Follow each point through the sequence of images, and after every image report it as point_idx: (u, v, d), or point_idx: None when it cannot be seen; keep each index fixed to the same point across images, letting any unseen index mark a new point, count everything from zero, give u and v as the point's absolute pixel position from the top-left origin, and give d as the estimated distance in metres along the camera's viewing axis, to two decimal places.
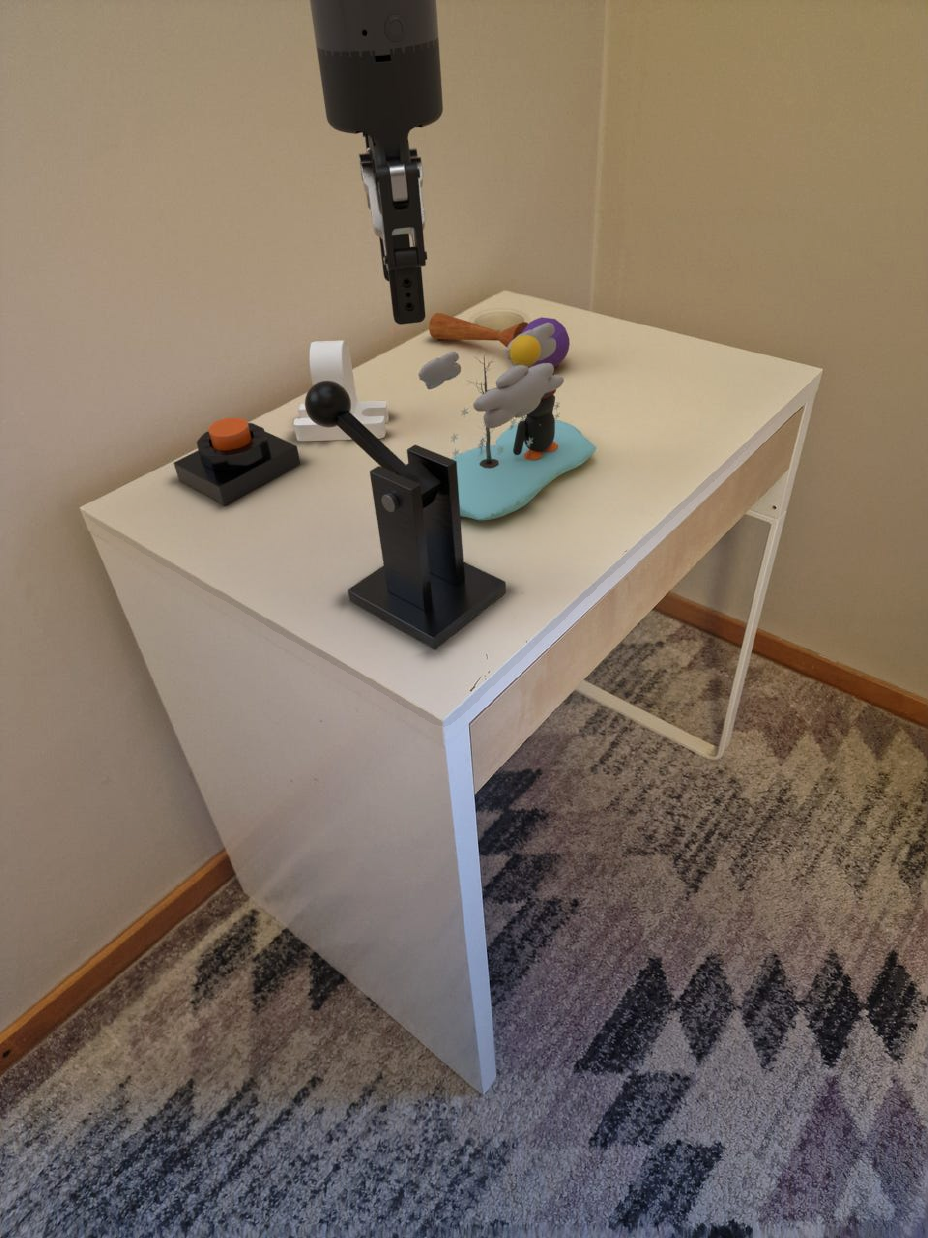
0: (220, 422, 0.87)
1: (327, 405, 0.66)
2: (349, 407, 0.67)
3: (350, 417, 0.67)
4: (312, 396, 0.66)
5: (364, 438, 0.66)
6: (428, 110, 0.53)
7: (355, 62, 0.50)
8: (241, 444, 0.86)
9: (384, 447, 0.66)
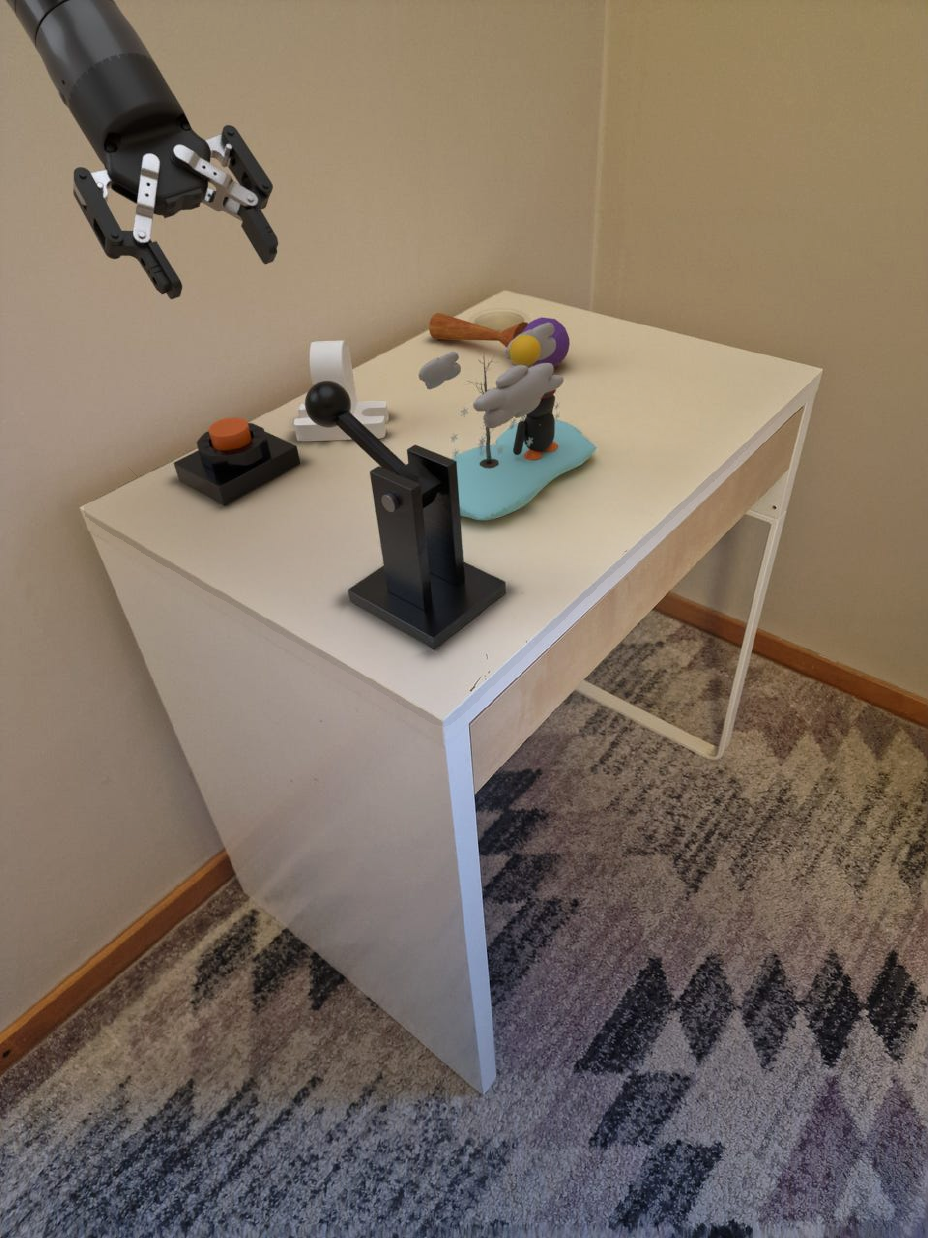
0: (220, 422, 0.87)
1: (327, 405, 0.66)
2: (349, 407, 0.67)
3: (350, 417, 0.67)
4: (312, 396, 0.66)
5: (364, 438, 0.66)
6: None
7: None
8: (241, 444, 0.86)
9: (384, 447, 0.66)
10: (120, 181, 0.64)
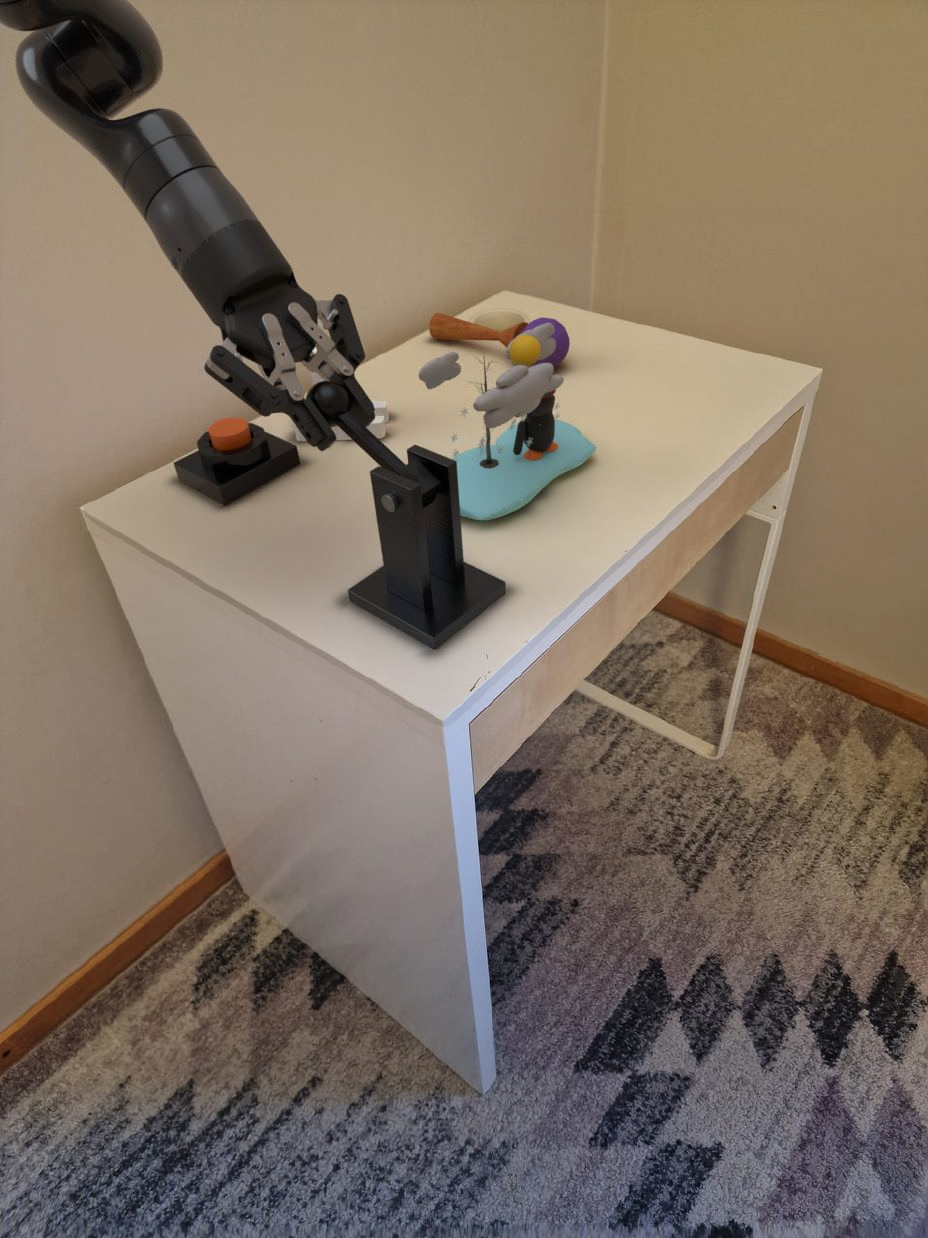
0: (220, 422, 0.87)
1: (327, 405, 0.66)
2: (349, 407, 0.67)
3: (350, 417, 0.67)
4: (312, 396, 0.66)
5: (364, 438, 0.66)
6: None
7: None
8: (241, 444, 0.86)
9: (384, 447, 0.66)
10: (240, 341, 0.64)
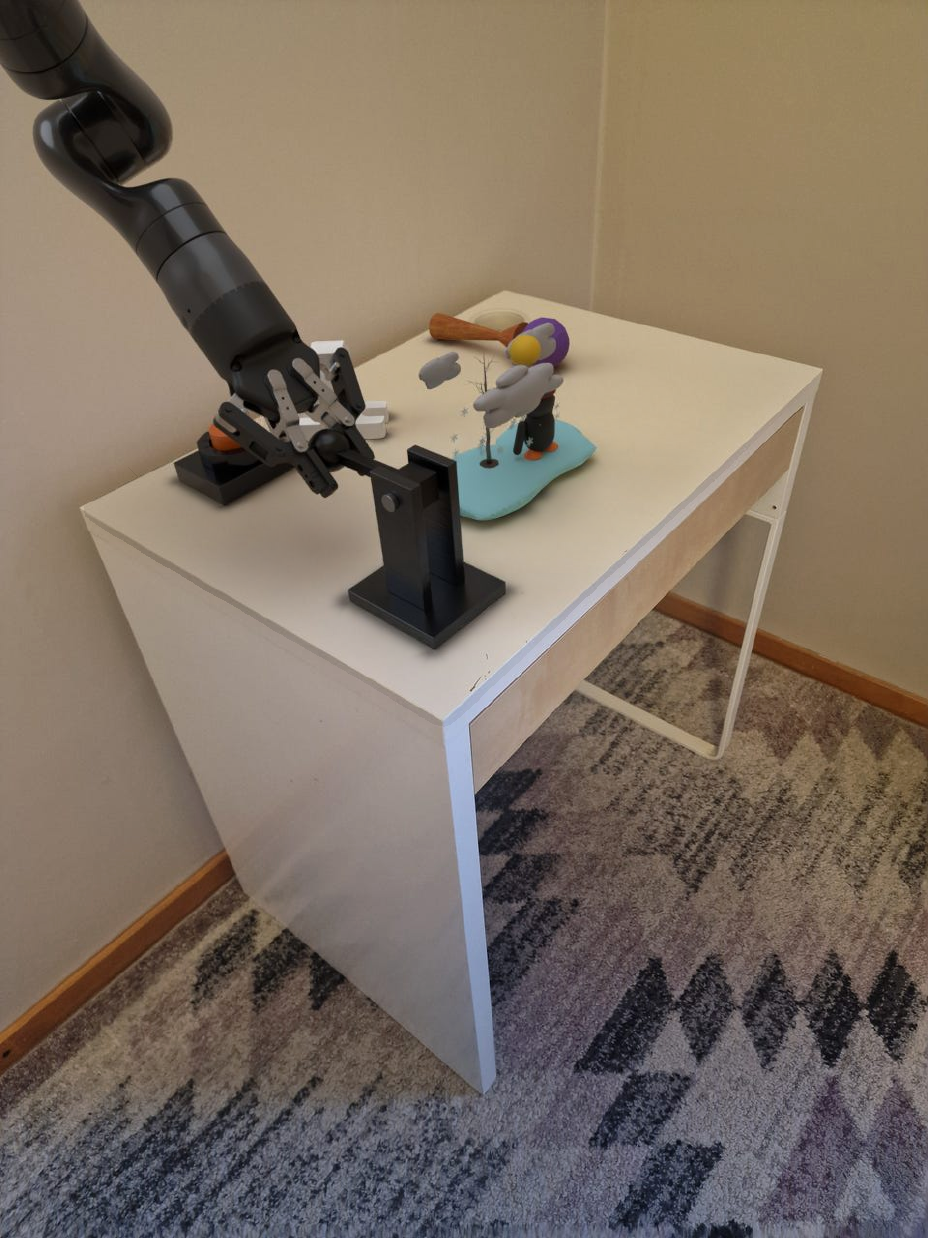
0: None
1: (324, 445, 0.69)
2: (347, 445, 0.70)
3: (348, 452, 0.69)
4: (310, 443, 0.70)
5: (361, 462, 0.68)
6: None
7: None
8: None
9: (381, 464, 0.68)
10: (247, 397, 0.68)
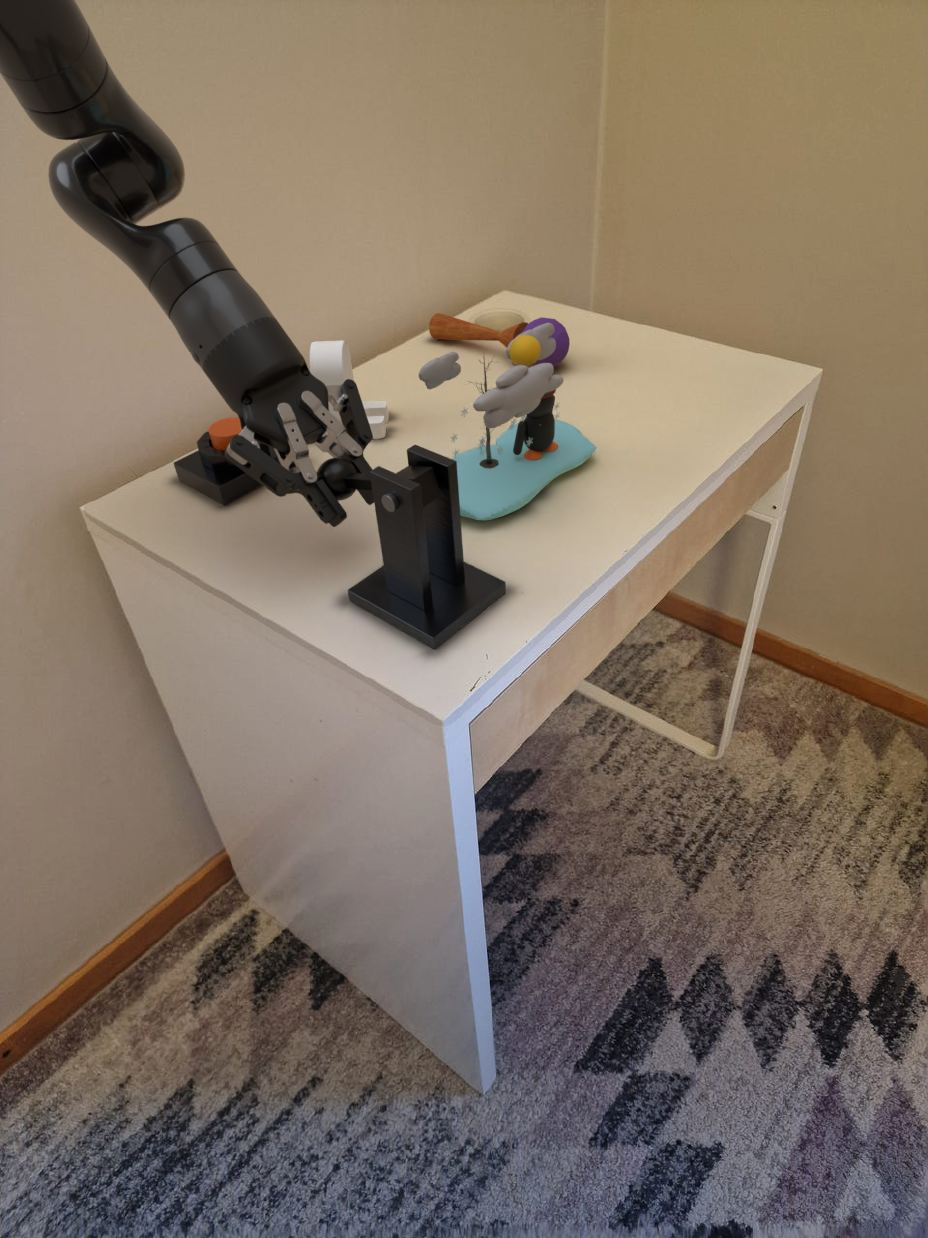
0: (220, 422, 0.87)
1: (329, 472, 0.71)
2: (353, 470, 0.72)
3: (353, 474, 0.71)
4: (317, 474, 0.72)
5: (365, 478, 0.69)
6: None
7: None
8: None
9: None
10: (257, 429, 0.69)
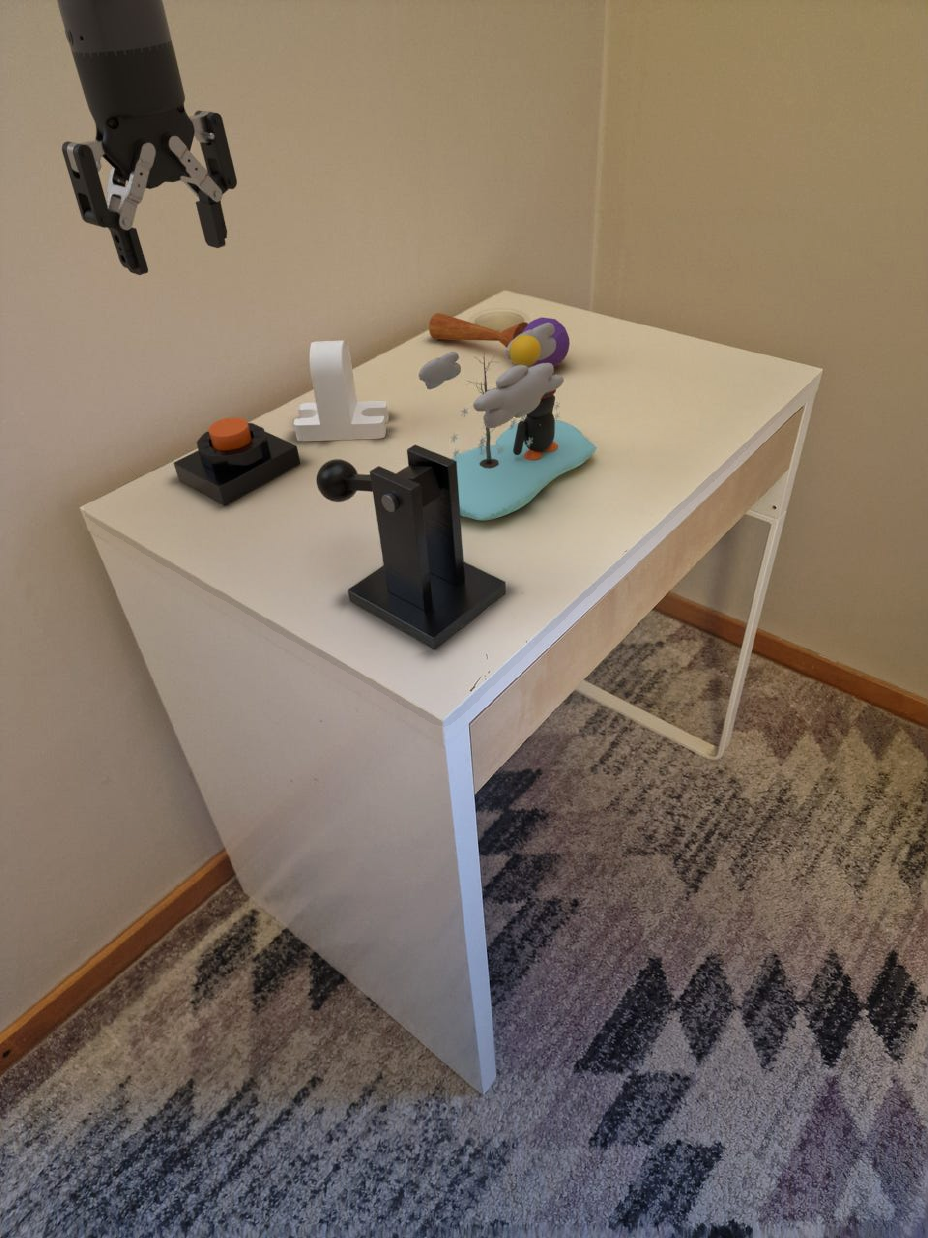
0: (220, 422, 0.87)
1: (329, 473, 0.71)
2: (353, 471, 0.72)
3: (354, 475, 0.71)
4: (318, 475, 0.72)
5: (365, 479, 0.69)
6: None
7: None
8: (241, 444, 0.86)
9: None
10: (114, 159, 0.68)
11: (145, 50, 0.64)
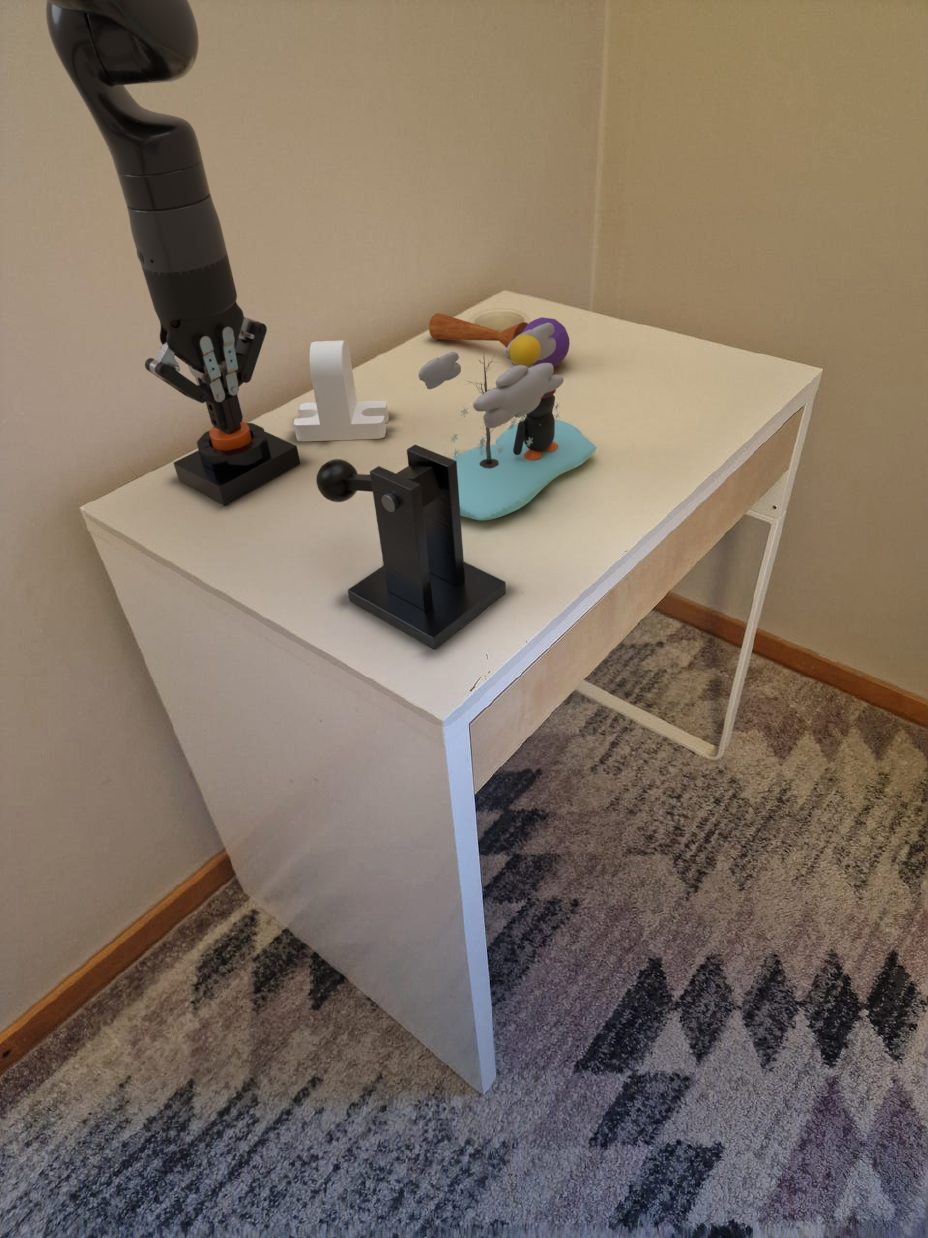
0: None
1: (329, 473, 0.71)
2: (353, 471, 0.72)
3: (354, 475, 0.71)
4: (318, 475, 0.72)
5: (365, 479, 0.69)
6: None
7: None
8: None
9: None
10: (175, 351, 0.78)
11: (205, 268, 0.74)
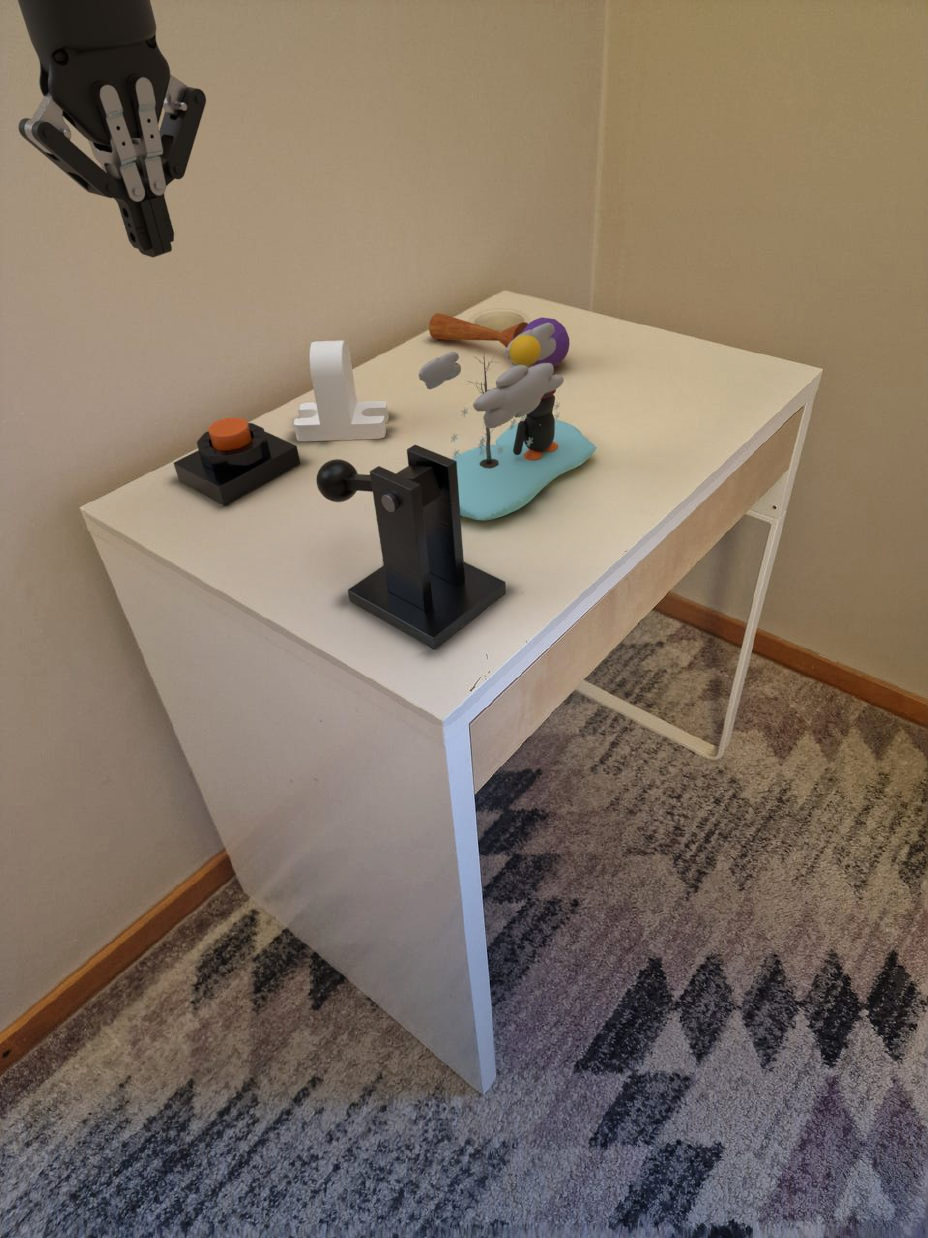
0: (220, 422, 0.87)
1: (329, 473, 0.71)
2: (353, 471, 0.72)
3: (354, 475, 0.71)
4: (318, 475, 0.72)
5: (365, 479, 0.69)
6: None
7: None
8: (241, 444, 0.86)
9: None
10: (63, 105, 0.52)
11: None
